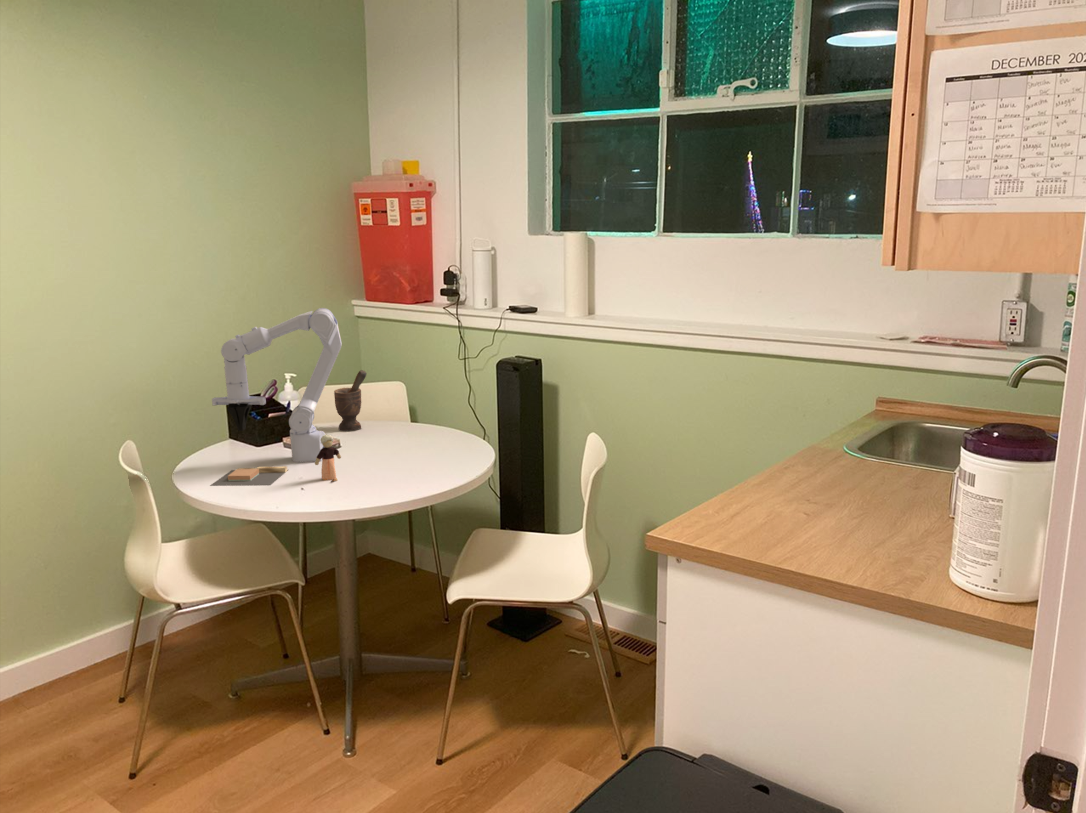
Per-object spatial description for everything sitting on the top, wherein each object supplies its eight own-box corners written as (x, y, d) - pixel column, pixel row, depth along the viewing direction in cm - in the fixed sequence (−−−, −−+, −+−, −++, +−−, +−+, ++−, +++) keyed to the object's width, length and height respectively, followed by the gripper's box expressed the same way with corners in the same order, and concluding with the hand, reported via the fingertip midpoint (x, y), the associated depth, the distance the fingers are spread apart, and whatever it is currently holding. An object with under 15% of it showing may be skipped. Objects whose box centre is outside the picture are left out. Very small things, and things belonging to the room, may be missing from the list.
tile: (258, 469, 234) (236, 469, 234) (250, 475, 228) (227, 475, 229) (259, 474, 234) (237, 474, 235) (250, 480, 228) (228, 480, 229)
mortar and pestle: (375, 425, 289) (371, 366, 285) (368, 432, 281) (364, 371, 276) (341, 426, 290) (336, 367, 286) (333, 432, 282) (328, 371, 277)
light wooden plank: (288, 469, 238) (288, 465, 237) (284, 473, 235) (284, 468, 234) (238, 470, 238) (237, 466, 238) (234, 473, 235) (233, 469, 235)
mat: (289, 472, 238) (288, 469, 238) (270, 488, 224) (270, 485, 224) (232, 472, 239) (231, 470, 239) (210, 488, 225) (209, 485, 225)
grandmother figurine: (325, 485, 225) (321, 438, 222) (314, 483, 227) (310, 436, 224) (346, 478, 231) (342, 431, 229) (335, 476, 234) (332, 430, 231)
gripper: (205, 385, 237) (210, 433, 240) (257, 384, 236) (261, 433, 239) (216, 380, 244) (221, 427, 247) (266, 379, 243) (271, 427, 246)
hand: (241, 429), depth 243 cm, fingers closed
